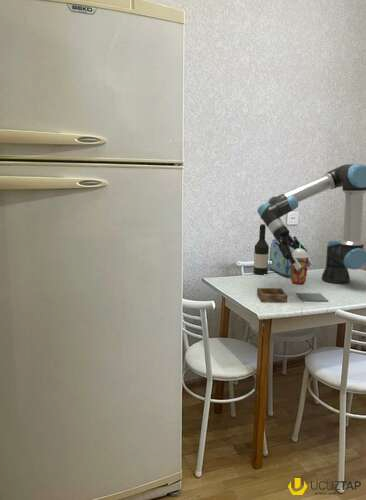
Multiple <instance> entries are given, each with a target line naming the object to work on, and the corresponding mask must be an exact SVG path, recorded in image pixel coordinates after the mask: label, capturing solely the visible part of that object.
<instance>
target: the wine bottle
mask: <svg viewBox="0 0 366 500" xmlns="http://www.w3.org/2000/svg"><path fill="white" fill-rule="evenodd" d="M266 227H267V225H266V224H265V223H260V225H259V235H258V237H259V239H258V241H257V242H256V244H255V245H254V255H253V256H254V257H253V274H255V275H258V276H265V275H264V274H266V275H268V269H269V255H270V247H269V244H268V243H267V241H266Z"/></svg>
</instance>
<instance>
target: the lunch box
mask: <svg viewBox="0 0 366 500" xmlns="http://www.w3.org/2000/svg"><path fill="white" fill-rule="evenodd" d="M276 241H277V240H276V239H275V238H274V239H272V241H271V245H270V247H269V262H270V261H272V264H270V263H269V267H270V269H271V270H273V271H274V272H276V273H277V274H280V275H281V276H283V277H291V261H290V260H289V259H288V260H287V259H286V258H284V257H283V255H282V253H281V251H280V249H279V247H278V245H277V244H276V243H275V242H276ZM292 244H293V243H292ZM292 244H291V245H292ZM289 247H290V246H289ZM290 250H291V253H292V252H293V251H294V249H293V248H292V247H290ZM285 255H286V254H285Z"/></svg>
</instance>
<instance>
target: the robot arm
mask: <svg viewBox="0 0 366 500" xmlns="http://www.w3.org/2000/svg"><path fill="white" fill-rule="evenodd" d="M337 188H342V190H341V191H342V192H343V193H344V194H345V195H344V213H343V214H344V216H343V217H344V218H343V233H342V235H343V236H342V237H343V238H342V240H329V241H328V242H327V246H326V259H325V267H324V270H323V272H322V274H321V280H322V281H324V282H326V283H329V284H337V285H338V284H339V285H340V284H341V285H342V284H345V285H346V284H349V283H350V282H351V277H350V273H349V269H350V270H359V269H361V268H362V267H364V266H365V265H366V249H365V248H364V246H365V243H364V241H362V227H363V225H362V224H363V223H362V222H363V212H364V210H363V208H364V207H363V205H364V194H365V193H366V164H364V163H363V164H362V163H350V164H343V165H340V166H338V167H336V168H334V169H331V170H329V171H327V172H325V173H324V174H323V175H322V176H321V177H318V178H316V179H314V180H312V181H309V182H307V183H305V184H302V185H300V186H298V187H295V188H293V189H291V190H288V191H287V192H284V193H282V194H279V195H277V196H272V197H269V199H268V200H267V202H265V203H262V204H261V205H260V206H258V208H257V214H258V215H259V217H260V219H261V220H262V221H263V224H265V226H266V227H267V229H268V230H269V231H270V233H271V234H272V236H273V238H274V239H276V240H277V241H276V242H275V243H276V244H277V245H278V247H279V249H280V251H281V253H282V255H283V257H284V258H286V259H287V260H288V259H289V260H290V261H291V263H292V264H293V265H294V267H295V268H296V270H299V269H300V268H301V265H300V264H299V262H298V261H297V260H296V258H295V257H294V256H292V253H291V250H290V247H292V248H293V249H294V250H295V249H297V248H299V243H301V242H300V241H299V240H298V238H297V237H296V236H295V235H294V236H293V237H292V236H291V235H290V230H289V229H288V227H287V226H286V225H285V223H284V222H283V221H282V219H281V217H283V216H285V215H288V214H290V213H291V212H294V211H295V210H296V209H297V208H298V207H299V203H300V202H302V201H305V200H307V199H310V198H311V197H314V196H316V195H318V194H321V193H323V192H325V191H327V190H334V189H337ZM292 243H293V244H292ZM291 244H292V245H291ZM289 246H290V247H289ZM301 248H302V249H304V250H305V251H306V252H307V253H308V250H307V249H306V247H305V246H304V245H303V244H302V243H301ZM285 254H286V255H285ZM313 265H314V263H313V262H312V261H311V259H310V258H309V257H308V266H307V269H308V268H310V267H312V266H313Z"/></svg>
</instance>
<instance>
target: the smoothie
mask: <svg viewBox="0 0 366 500" xmlns="http://www.w3.org/2000/svg"><path fill="white" fill-rule="evenodd" d="M301 244H302V243H301V242H300V243H299V248H297V249H295V250H294V251H293V252H292V256H294V257H295V258H296V260H297V261H298V262H299V264H300V265H301V268H300V269H299V270H296V268H295V267H294V265H293V264H292V263H291V276H290V281H291V283H292V284H293V285H296V286H302V285H305V282H306V281H307V275H308V258H309V254H308V251H307V252H306V251H305V250H304V249H302V248H301Z"/></svg>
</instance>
